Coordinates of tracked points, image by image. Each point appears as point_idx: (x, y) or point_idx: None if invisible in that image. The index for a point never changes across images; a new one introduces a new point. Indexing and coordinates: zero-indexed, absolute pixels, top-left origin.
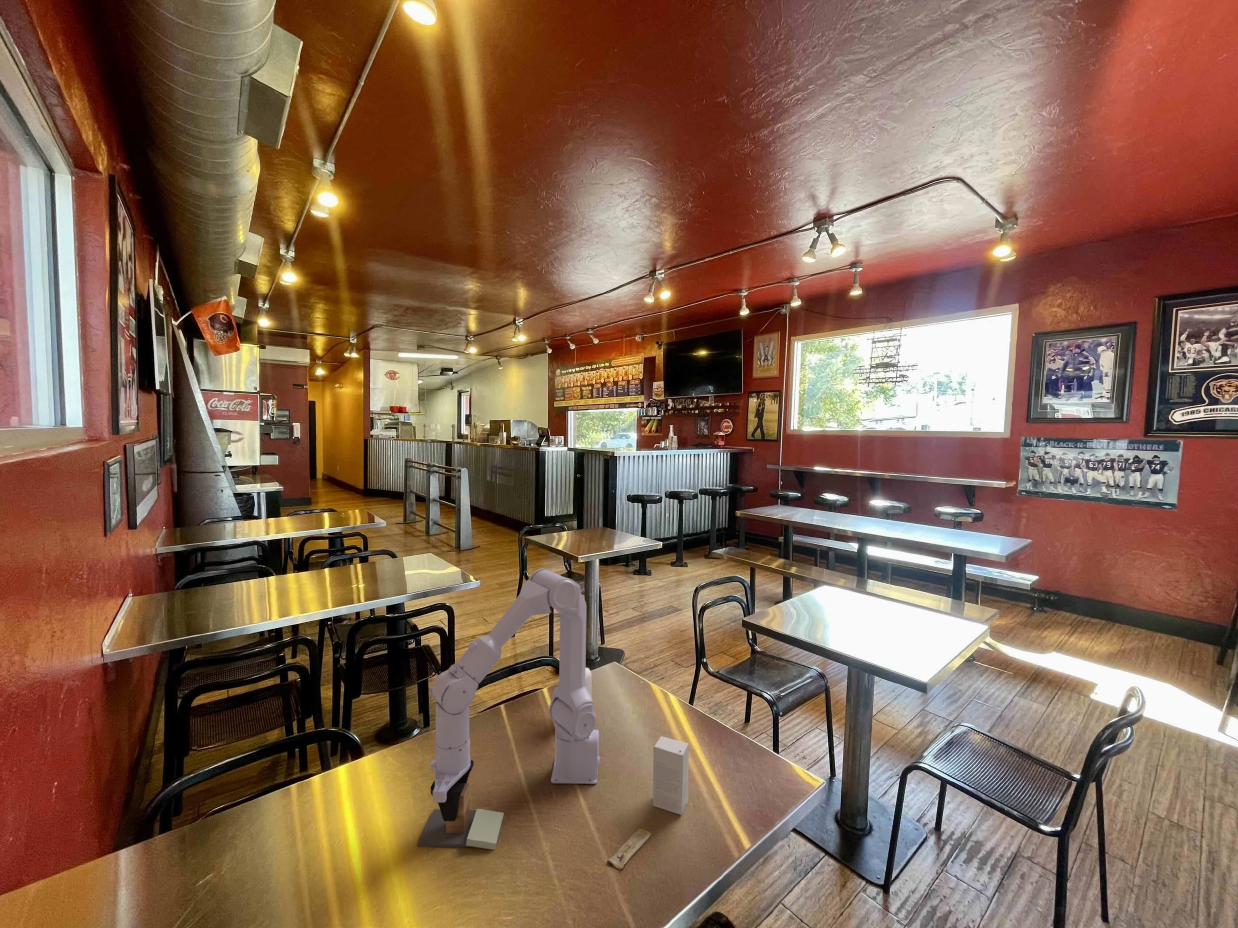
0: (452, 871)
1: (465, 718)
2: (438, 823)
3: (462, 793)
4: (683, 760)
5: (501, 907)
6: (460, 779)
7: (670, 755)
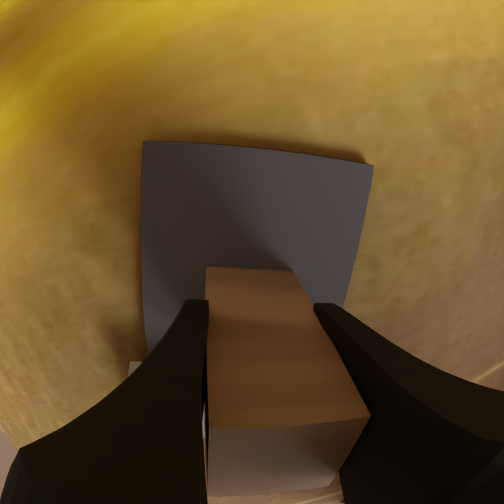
0: (45, 320)
1: None
2: (274, 211)
3: (231, 488)
4: None
5: (9, 420)
6: (359, 475)
7: None
